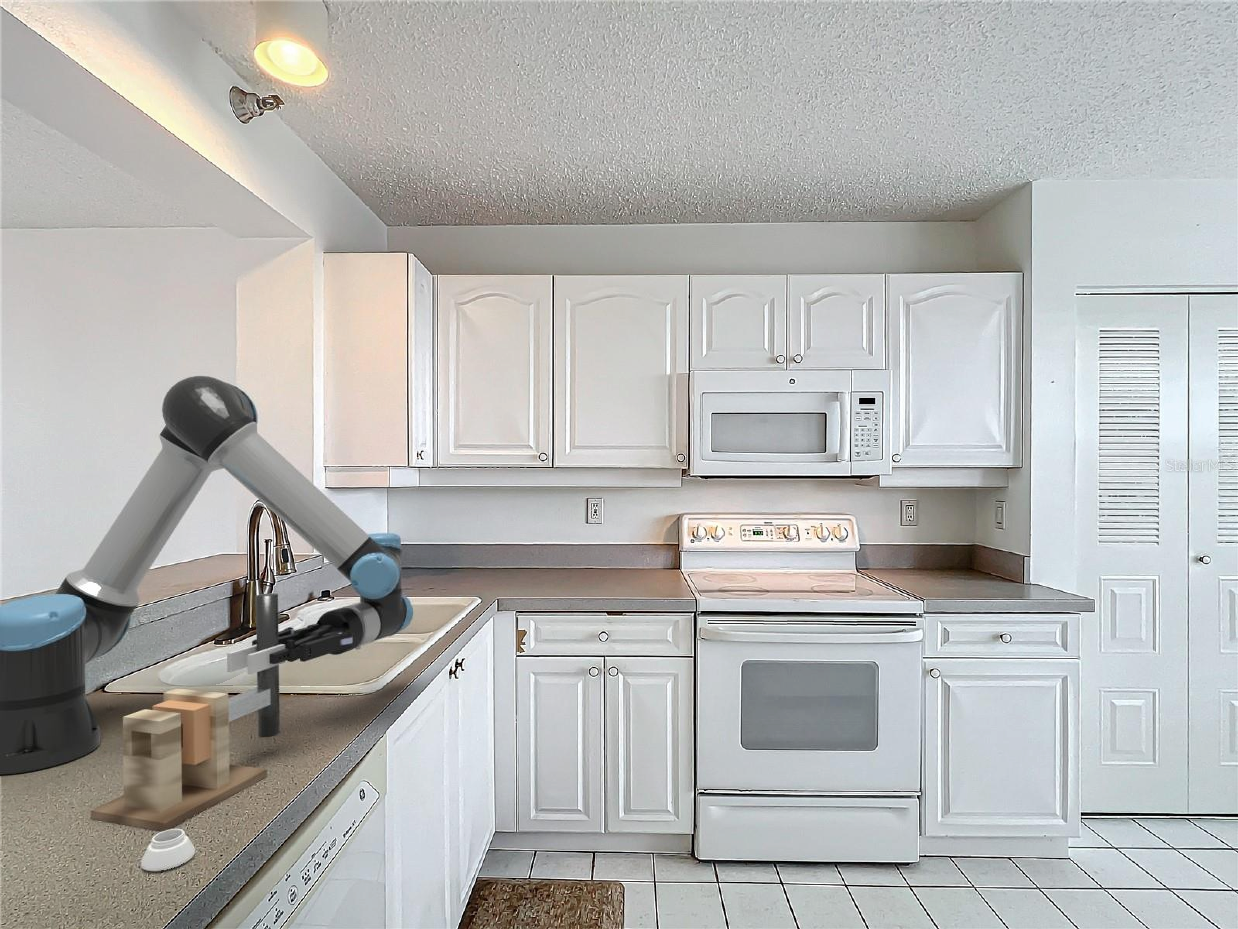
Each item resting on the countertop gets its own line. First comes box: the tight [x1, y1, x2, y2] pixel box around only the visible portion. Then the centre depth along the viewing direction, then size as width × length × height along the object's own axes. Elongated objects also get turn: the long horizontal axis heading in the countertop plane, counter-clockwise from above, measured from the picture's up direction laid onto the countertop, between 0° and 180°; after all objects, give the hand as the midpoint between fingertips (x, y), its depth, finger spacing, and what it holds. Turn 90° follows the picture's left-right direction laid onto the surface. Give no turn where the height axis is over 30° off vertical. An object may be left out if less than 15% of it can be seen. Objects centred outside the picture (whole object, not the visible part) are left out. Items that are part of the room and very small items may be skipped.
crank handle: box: [181, 592, 281, 742], centre depth 104 cm, size 3×18×21 cm, turn 163°
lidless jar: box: [140, 828, 196, 872], centre depth 81 cm, size 5×3×5 cm
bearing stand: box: [90, 688, 268, 832], centre depth 96 cm, size 12×16×13 cm
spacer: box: [151, 700, 211, 765], centre depth 96 cm, size 7×2×7 cm, turn 73°
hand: (239, 663), depth 106 cm, fingers closed on crank handle, 3 cm apart
